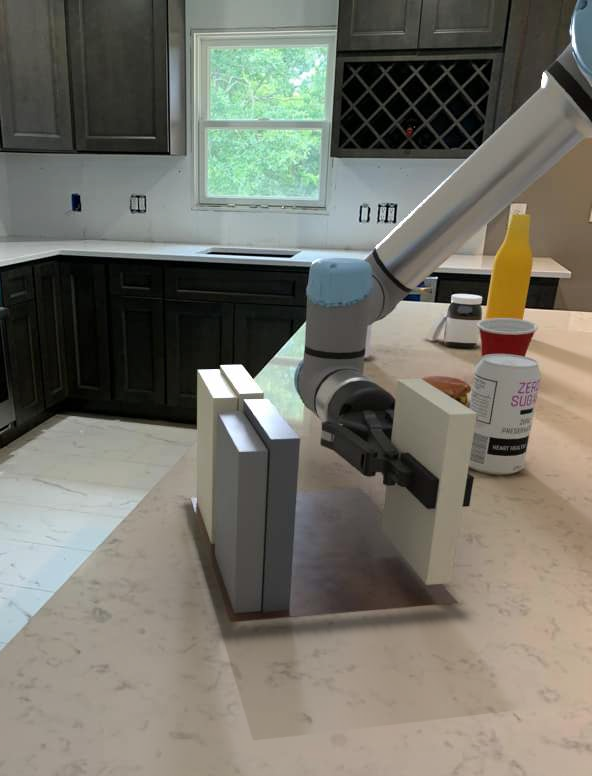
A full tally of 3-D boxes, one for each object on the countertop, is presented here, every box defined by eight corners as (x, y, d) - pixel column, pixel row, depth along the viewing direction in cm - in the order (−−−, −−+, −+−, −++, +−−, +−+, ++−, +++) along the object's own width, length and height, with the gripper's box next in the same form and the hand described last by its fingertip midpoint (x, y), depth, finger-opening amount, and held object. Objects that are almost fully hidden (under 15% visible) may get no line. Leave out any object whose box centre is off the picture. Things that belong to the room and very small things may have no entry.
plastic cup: (457, 384, 141) (466, 321, 137) (484, 374, 148) (494, 315, 144) (510, 396, 134) (522, 330, 130) (536, 386, 141) (548, 323, 137)
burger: (417, 394, 134) (420, 369, 132) (469, 400, 131) (473, 375, 129) (410, 409, 125) (413, 382, 124) (466, 416, 123) (470, 389, 121)
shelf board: (359, 499, 90) (360, 488, 89) (455, 616, 66) (458, 602, 66) (189, 509, 86) (189, 497, 86) (228, 636, 63) (229, 622, 62)
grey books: (262, 550, 74) (268, 398, 68) (289, 610, 64) (300, 438, 58) (214, 554, 73) (216, 400, 67) (234, 614, 63) (239, 440, 57)
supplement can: (468, 452, 106) (485, 350, 101) (528, 463, 103) (548, 358, 97) (453, 469, 100) (470, 361, 94) (516, 482, 96) (537, 370, 90)
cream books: (237, 498, 86) (241, 364, 80) (257, 541, 76) (264, 392, 70) (196, 500, 85) (197, 365, 79) (211, 544, 75) (213, 394, 69)
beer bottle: (474, 334, 187) (493, 213, 176) (493, 329, 193) (512, 213, 181) (508, 340, 181) (529, 215, 169) (526, 335, 186) (548, 215, 175)
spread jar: (479, 351, 168) (487, 300, 163) (429, 348, 170) (435, 297, 165) (472, 341, 179) (479, 292, 174) (425, 338, 180) (431, 290, 176)
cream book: (402, 529, 76) (421, 378, 69) (451, 583, 66) (477, 413, 60) (381, 530, 75) (397, 379, 69) (426, 585, 65) (450, 414, 59)
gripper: (417, 439, 86) (525, 526, 65) (290, 445, 84) (360, 538, 62) (424, 377, 84) (541, 447, 62) (293, 381, 81) (368, 456, 59)
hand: (450, 493), depth 62 cm, fingers closed on cream book, 2 cm apart
